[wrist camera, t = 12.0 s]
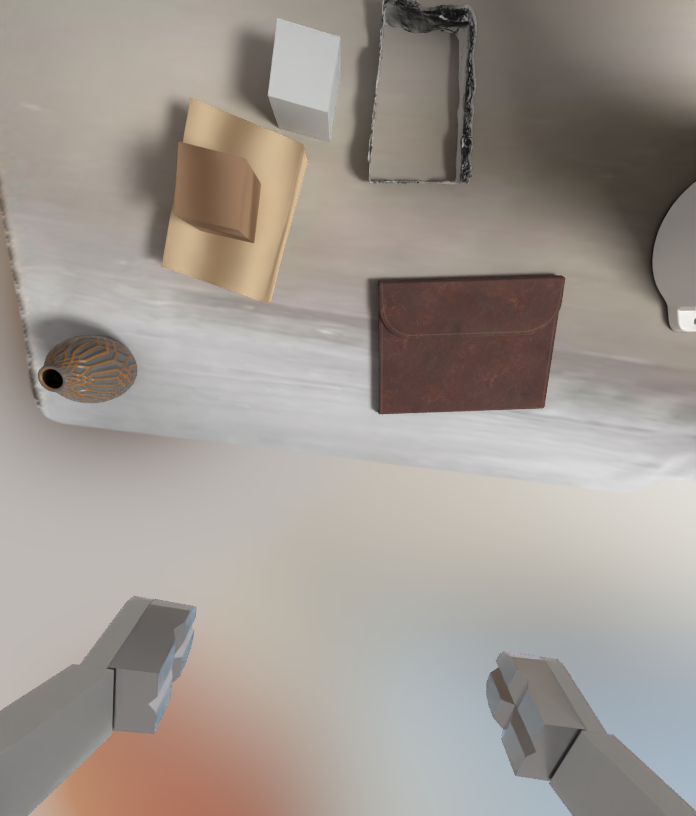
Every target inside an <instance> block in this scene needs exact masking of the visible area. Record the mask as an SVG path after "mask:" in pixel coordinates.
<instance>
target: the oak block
mask: <svg viewBox="0 0 696 816" xmlns="http://www.w3.org/2000/svg"><path fill="white" fill-rule="evenodd" d="M183 143H187V144H191V145H195V146H199V147H203V148H207V149H211V150H215V151H219V152H223V153H227V154H231V155H235V156H239V157H243V158H246V160H247V162H248V163H249V165H250V166H251V168H252V170H253V171H254V173H255V175H256V176H257V178H258V180H259V181H260V183H261V190H260V199H259V207H258V215H257V224H256V232H255V241H254V243H250V242H246V241H242V240H237V239H233V238H229V237H224V236H220V235H216V234H211V233H207V232H203V231H200V230H198V229H196V228H195V227H193V226H191V225H190V224H188V223H186V222H185V221H183V220H181V219H180V218H178V217H176V216H175V215H174V208H175V191H174V197H173V202H172V208H171V214H170V220H169V226H168V232H167V238H166V244H165V250H164V255H163V261H162V266H163V267H165V268H168V269H171V270H174V271H177V272H180V273H182V274H185V275H188V276H191V277H194V278H196V279H199V280H202V281H205V282H208V283H211V284H213V285H216V286H219V287H222V288H225V289H228V290H230V291H233V292H236V293H239V294H242V295H245V296H247V297H250V298H253V299H256V300H259V301H262V302H267V303H270V302H271V298H272V295H273V291H274V287H275V283H276V280H277V276H278V272H279V268H280V264H281V261H282V257H283V253H284V249H285V246H286V242H287V238H288V234H289V231H290V227H291V223H292V219H293V215H294V212H295V208H296V204H297V200H298V197H299V193H300V189H301V185H302V181H303V178H304V174H305V170H306V166H307V163H308V162H307V158H306V154H305V149H304V145H303V144H302V143H299V142H297V141H294V140H292V139H290V138H287V137H285V136H282V135H280V134H277V133H275V132H273V131H270V130H268V129H265V128H263V127H261V126H258V125H256V124H253V123H251V122H248V121H246V120H244V119H241V118H239V117H236V116H234V115H231V114H229V113H227V112H224V111H222V110H219V109H217V108H215V107H212V106H210V105H207V104H205V103H202V102H200V101H198V100H195V99H193V98H190V102H189V108H188V114H187V120H186V126H185V132H184V138H183ZM175 190H176V185H175Z"/></svg>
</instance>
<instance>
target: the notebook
mask: <svg viewBox="0 0 696 816" xmlns="http://www.w3.org/2000/svg"><path fill="white" fill-rule="evenodd" d="M564 283H565V277H563V276H561V275H559V276H527V277H495V278H463V279H431V280H399V281H378V285H379V410H378V413H379V414H399V413H427V412H455V411H482V410H510V409H538V408H544V406H545V399H546V393H547V386H548V379H549V373H550V366H551V359H552V353H553V346H554V339H555V333H556V326H557V319H558V313H559V310H560V307H561V303H562V297H563V290H564Z"/></svg>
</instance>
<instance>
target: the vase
mask: <svg viewBox="0 0 696 816" xmlns="http://www.w3.org/2000/svg"><path fill="white" fill-rule="evenodd" d="M136 376H137V365H136V361H135V359H134V357H133V355H132V354H131V352H130V351H129V350H128V349H127V348H126V347H125V346H124V345H122V344H120V343H119V342H117V341H115V340H112V339H110V338H106V337H102V336H93V335H88V336H78V337H73V338H70V339H68V340H65V341H63V342H61V343H59V344H58V345H56V346H55V347H54V348H53V349H52V350H51V351H50V352H49V354H48V355H47V357H46V359H45V362H44V366H43V367H42V368H41V369H40V370H39V372H38V379H39V382H40V383H41V385H42V386H43V387H44V388H45V389H47V390H49V391H52V392H57V393H58V394H60V395H62V396H63V397H65V398H67V399H70V400H73V401H77V402H82V403H99V402H105V401H109V400H112V399H114V398H116V397H118V396H120V395H122V394H124V393H125V392H126V391H127V390H128V389H129V388H130V387H131V386H132V385H133V383H134V381H135V379H136Z"/></svg>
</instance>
